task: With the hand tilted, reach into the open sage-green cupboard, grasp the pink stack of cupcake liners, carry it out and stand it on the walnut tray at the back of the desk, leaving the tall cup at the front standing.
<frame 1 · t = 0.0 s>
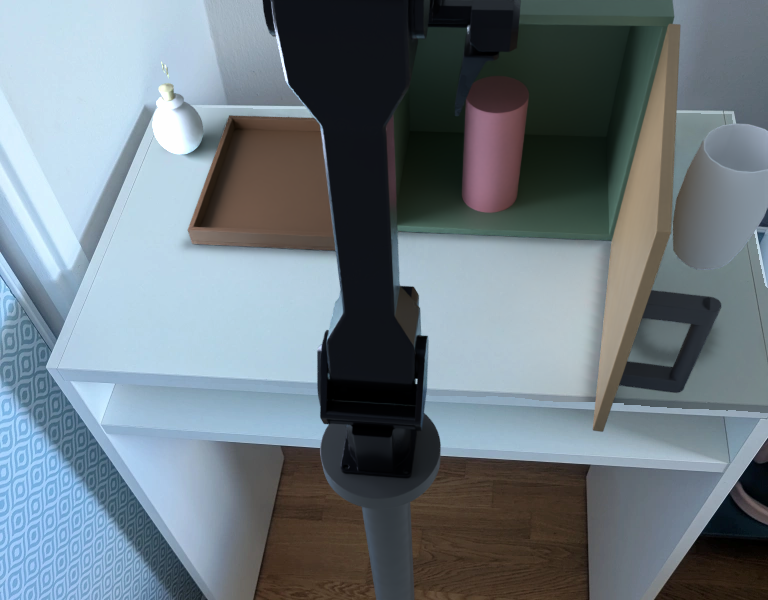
hand: (409, 111, 71), 16 cm above the table, tool pointing down, fingers open, 9 cm apart
cupboard door: (667, 243, 67), point 12 cm above the table, hinge at 85.0°
tray: (281, 186, 92), on the table
ornament: (185, 147, 97), on the table
cup: (669, 333, 78), on the table
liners: (489, 194, 88), point 1 cm above the table, touching cupboard
cupboard: (503, 183, 90), on the table
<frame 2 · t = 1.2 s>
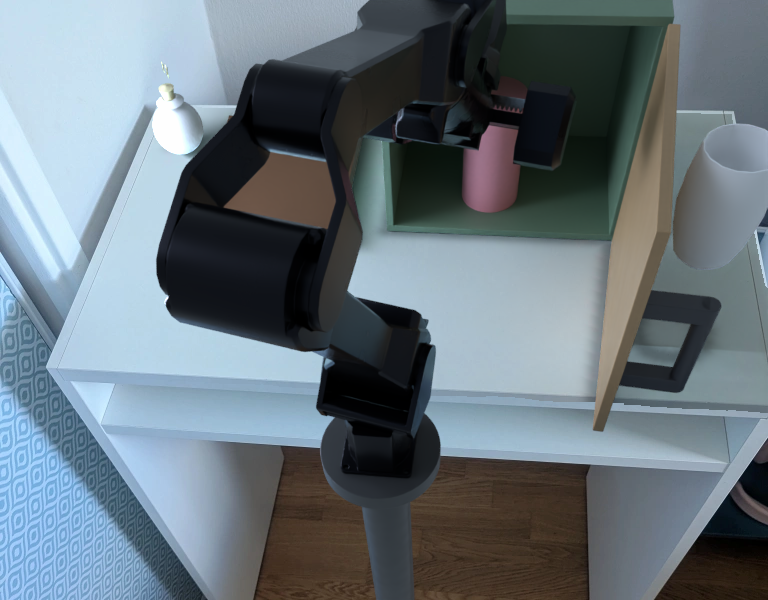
hand: (476, 135, 74), 13 cm above the table, tool tilted 45°, fingers open, 9 cm apart
nothing on the table moved.
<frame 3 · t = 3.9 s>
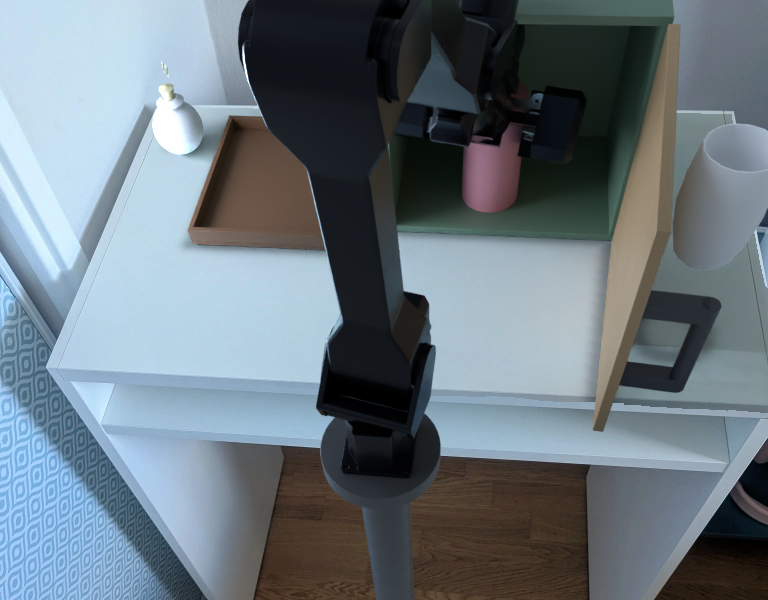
hand: (496, 130, 82), 8 cm above the table, tool tilted 45°, fingers closed on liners, 6 cm apart
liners: (489, 194, 88), point 1 cm above the table, touching cupboard, gripper
everything else where it was.
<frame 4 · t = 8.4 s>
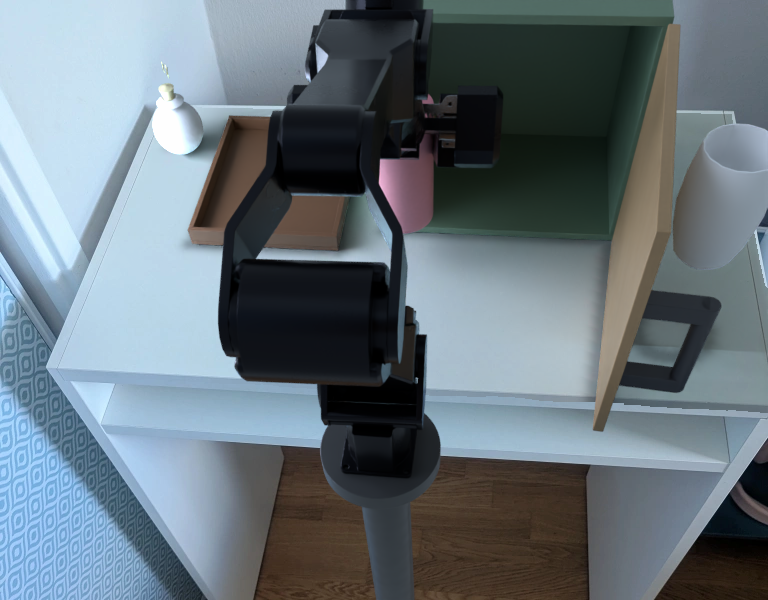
hand: (401, 145, 75), 13 cm above the table, tool tilted 45°, fingers closed on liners, 6 cm apart
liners: (403, 213, 81), point 5 cm above the table, touching gripper
everything else where it was.
when the fingers open (8 cm above the table, at t = 13.1 s): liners stays where it is, resting on tray.
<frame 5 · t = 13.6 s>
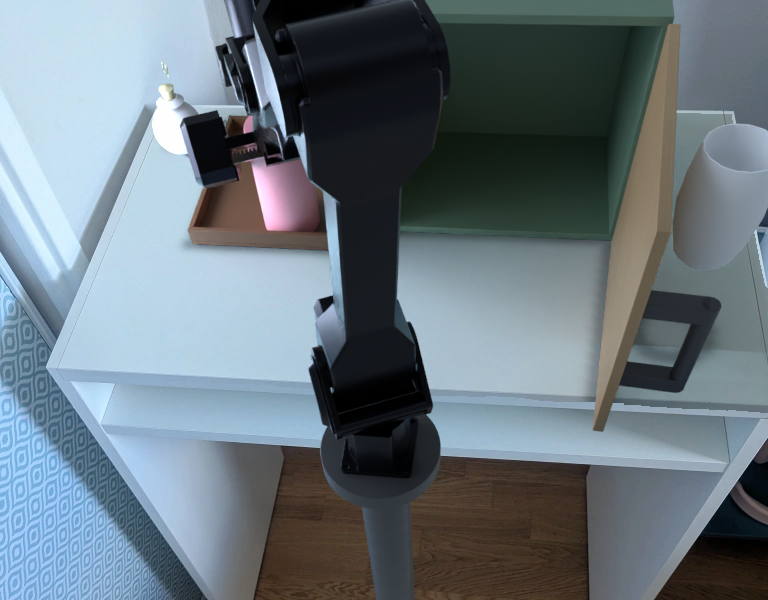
hand: (278, 151, 82), 8 cm above the table, tool tilted 45°, fingers open, 9 cm apart
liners: (292, 221, 88), point 1 cm above the table, touching tray
everything else where it was.
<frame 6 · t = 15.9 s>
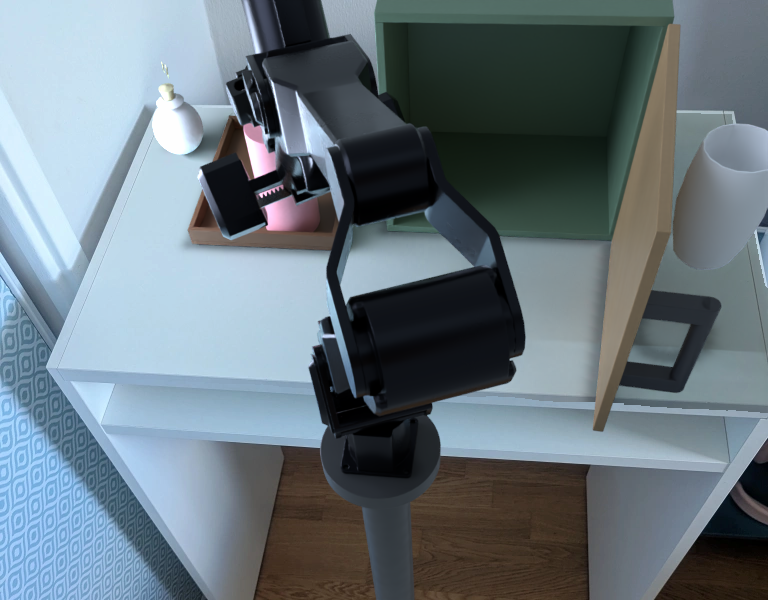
hand: (304, 189, 75), 10 cm above the table, tool tilted 40°, fingers open, 9 cm apart
nothing on the table moved.
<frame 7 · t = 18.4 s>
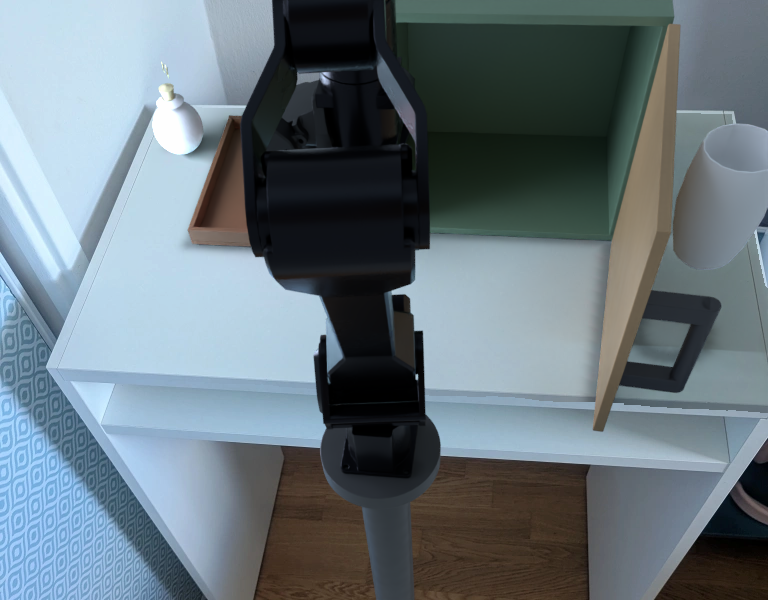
hand: (372, 236, 68), 13 cm above the table, tool pointing down, fingers open, 9 cm apart
nothing on the table moved.
at the end: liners inside the target area in the tray (7.1 cm from its centre), point 0.5 cm above the tray's base; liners tilted 0°; cup tilted 0° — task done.
